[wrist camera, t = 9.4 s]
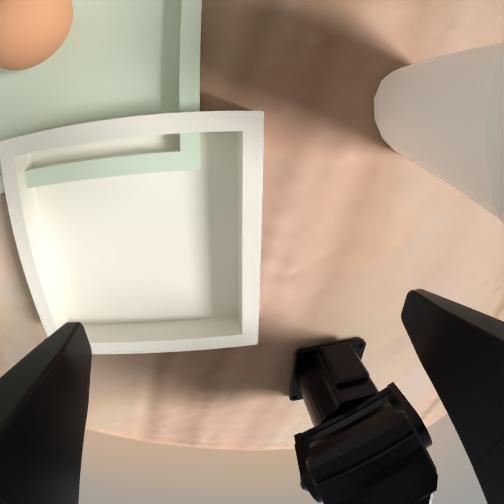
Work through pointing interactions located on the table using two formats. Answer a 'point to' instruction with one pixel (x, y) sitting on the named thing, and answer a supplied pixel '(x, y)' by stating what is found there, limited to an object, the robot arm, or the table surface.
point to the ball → (32, 31)
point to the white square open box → (144, 233)
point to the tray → (111, 84)
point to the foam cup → (450, 120)
